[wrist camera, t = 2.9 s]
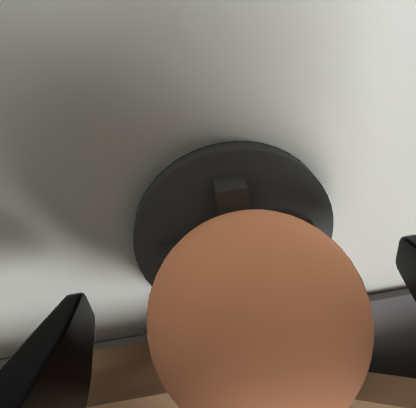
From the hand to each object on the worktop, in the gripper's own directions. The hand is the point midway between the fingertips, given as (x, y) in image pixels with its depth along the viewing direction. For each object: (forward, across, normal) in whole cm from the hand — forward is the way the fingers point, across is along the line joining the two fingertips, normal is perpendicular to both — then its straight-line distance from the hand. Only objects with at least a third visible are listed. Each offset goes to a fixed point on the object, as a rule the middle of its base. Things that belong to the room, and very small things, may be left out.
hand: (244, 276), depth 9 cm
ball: (+1, 0, 0) cm, 1 cm away
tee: (+2, 0, 0) cm, 2 cm away
